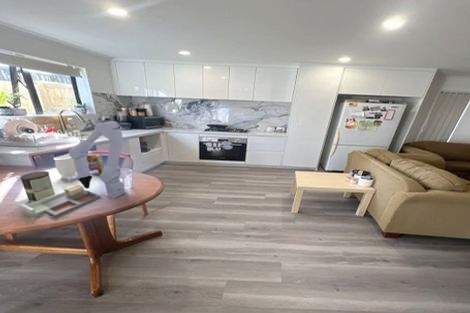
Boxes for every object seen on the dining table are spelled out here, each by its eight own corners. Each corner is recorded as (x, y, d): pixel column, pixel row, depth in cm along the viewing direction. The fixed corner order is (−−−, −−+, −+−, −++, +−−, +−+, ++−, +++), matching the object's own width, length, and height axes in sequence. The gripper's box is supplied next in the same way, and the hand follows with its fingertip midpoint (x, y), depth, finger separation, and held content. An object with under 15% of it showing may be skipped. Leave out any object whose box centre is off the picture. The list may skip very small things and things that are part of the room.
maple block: (84, 192, 99) (83, 186, 98) (72, 197, 94) (70, 191, 93) (78, 190, 101) (76, 184, 100) (65, 195, 96) (64, 188, 95)
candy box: (88, 174, 127) (84, 155, 123) (92, 172, 131) (88, 153, 127) (101, 174, 128) (97, 155, 124) (105, 172, 132) (101, 153, 128)
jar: (71, 173, 128) (66, 154, 124) (82, 174, 127) (78, 155, 123) (55, 178, 118) (48, 158, 114) (67, 180, 117) (62, 160, 113)
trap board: (101, 198, 98) (99, 191, 97) (44, 223, 76) (41, 215, 75) (80, 191, 104) (78, 184, 103) (23, 212, 83) (19, 204, 82)
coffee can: (23, 203, 90) (14, 179, 86) (35, 194, 99) (28, 172, 95) (49, 200, 94) (41, 177, 90) (59, 191, 103) (52, 170, 99)
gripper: (91, 162, 106) (96, 181, 111) (62, 170, 94) (68, 191, 98) (98, 164, 104) (103, 184, 108) (69, 172, 91) (75, 194, 95)
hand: (87, 188), depth 103 cm, fingers closed
